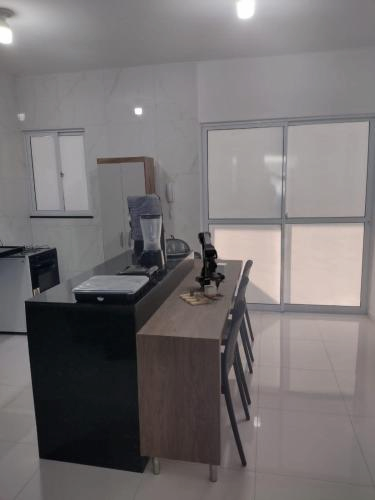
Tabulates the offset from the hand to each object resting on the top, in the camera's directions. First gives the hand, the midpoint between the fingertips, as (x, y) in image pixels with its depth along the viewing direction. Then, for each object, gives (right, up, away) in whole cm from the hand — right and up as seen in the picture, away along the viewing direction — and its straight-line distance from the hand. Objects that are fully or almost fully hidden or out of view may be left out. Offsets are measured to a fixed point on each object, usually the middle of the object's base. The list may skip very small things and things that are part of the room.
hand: (210, 291), depth 239 cm
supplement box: (+11, +3, +38) cm, 40 cm away
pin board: (-10, -4, -8) cm, 13 cm away
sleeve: (0, -3, 0) cm, 3 cm away
